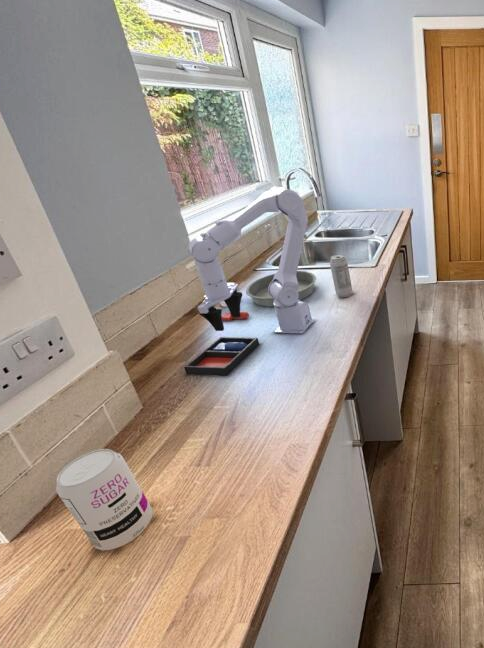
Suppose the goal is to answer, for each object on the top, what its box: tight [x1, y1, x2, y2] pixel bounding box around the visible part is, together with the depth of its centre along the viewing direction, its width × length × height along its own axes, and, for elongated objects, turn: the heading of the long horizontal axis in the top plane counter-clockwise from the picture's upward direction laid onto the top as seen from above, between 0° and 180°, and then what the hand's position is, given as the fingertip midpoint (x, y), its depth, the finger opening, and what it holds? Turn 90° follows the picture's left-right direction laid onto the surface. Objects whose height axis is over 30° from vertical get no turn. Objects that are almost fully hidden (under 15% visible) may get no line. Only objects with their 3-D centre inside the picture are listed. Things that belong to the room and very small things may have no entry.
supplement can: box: [55, 448, 154, 551], centre depth 66 cm, size 8×8×15 cm
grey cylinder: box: [329, 253, 353, 298], centre depth 147 cm, size 6×6×15 cm
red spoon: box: [221, 311, 250, 322], centre depth 137 cm, size 9×3×2 cm, turn 83°
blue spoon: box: [213, 342, 247, 351], centre depth 117 cm, size 9×3×2 cm, turn 83°
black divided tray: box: [183, 336, 260, 377], centre depth 114 cm, size 12×15×2 cm
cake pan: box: [245, 270, 317, 307], centre depth 152 cm, size 25×25×4 cm
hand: (228, 323), depth 117 cm, fingers open, 7 cm apart
